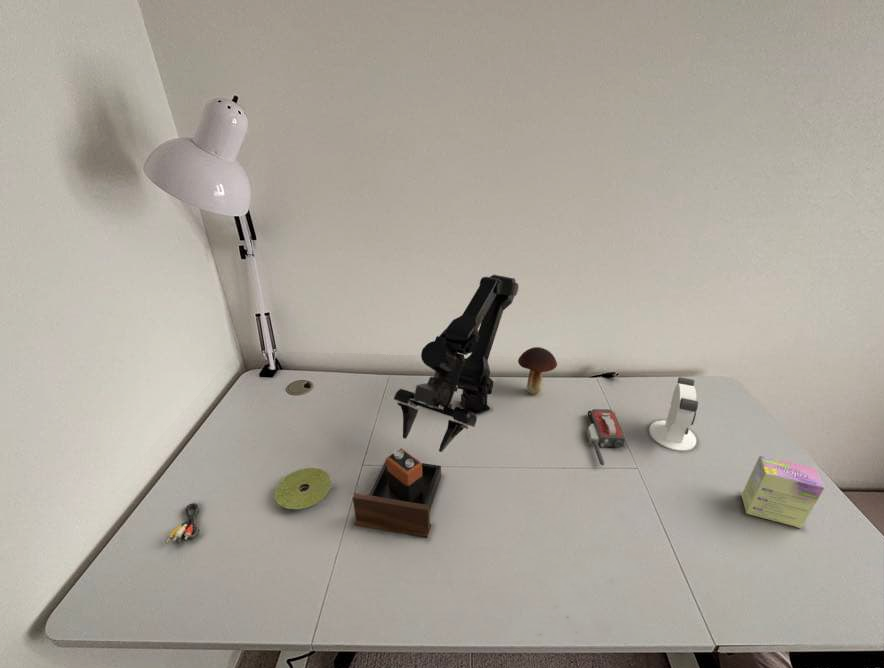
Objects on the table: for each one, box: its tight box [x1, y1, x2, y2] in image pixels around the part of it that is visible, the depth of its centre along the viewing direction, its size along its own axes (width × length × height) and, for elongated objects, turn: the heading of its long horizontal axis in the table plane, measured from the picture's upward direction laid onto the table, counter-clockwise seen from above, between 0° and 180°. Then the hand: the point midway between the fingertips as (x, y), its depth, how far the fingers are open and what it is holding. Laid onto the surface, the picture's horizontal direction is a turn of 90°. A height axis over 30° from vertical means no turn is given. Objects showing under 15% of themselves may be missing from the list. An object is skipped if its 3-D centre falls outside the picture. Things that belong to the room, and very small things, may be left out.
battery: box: [385, 448, 423, 502], centre depth 91 cm, size 4×7×10 cm, turn 48°
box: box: [741, 455, 826, 529], centre depth 90 cm, size 10×6×12 cm, turn 71°
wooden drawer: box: [352, 460, 442, 539], centre depth 91 cm, size 16×15×7 cm
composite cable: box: [165, 502, 201, 544], centre depth 85 cm, size 10×5×2 cm, turn 10°
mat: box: [274, 467, 332, 510], centre depth 93 cm, size 11×11×2 cm
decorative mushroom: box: [517, 346, 558, 395], centre depth 125 cm, size 11×11×15 cm
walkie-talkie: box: [586, 408, 626, 466], centre depth 110 cm, size 9×4×20 cm
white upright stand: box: [648, 376, 699, 452], centre depth 110 cm, size 12×11×15 cm
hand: (421, 444), depth 96 cm, fingers open, 9 cm apart
